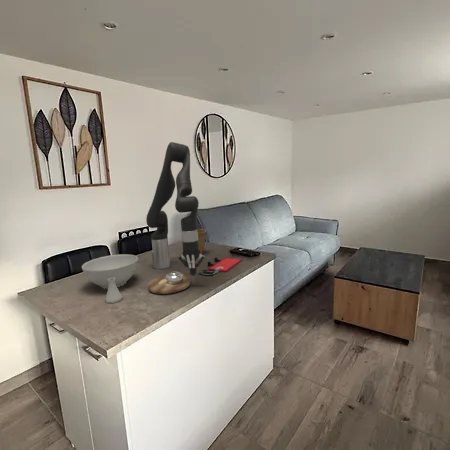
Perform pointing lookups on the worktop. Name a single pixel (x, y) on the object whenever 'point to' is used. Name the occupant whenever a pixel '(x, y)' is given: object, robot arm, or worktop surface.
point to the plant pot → (201, 239)
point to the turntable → (167, 285)
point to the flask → (113, 292)
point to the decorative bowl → (110, 269)
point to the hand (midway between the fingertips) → (193, 275)
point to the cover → (174, 278)
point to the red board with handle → (221, 265)
